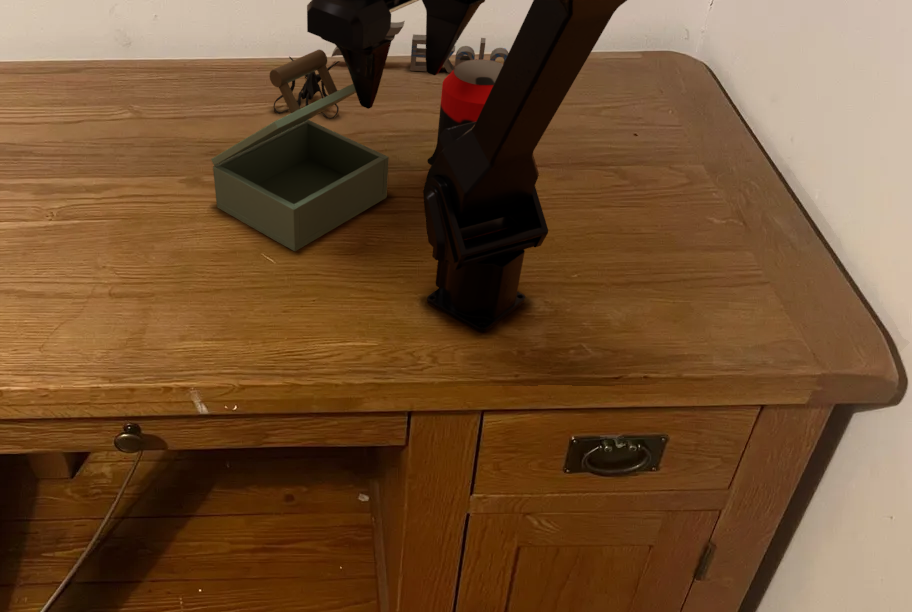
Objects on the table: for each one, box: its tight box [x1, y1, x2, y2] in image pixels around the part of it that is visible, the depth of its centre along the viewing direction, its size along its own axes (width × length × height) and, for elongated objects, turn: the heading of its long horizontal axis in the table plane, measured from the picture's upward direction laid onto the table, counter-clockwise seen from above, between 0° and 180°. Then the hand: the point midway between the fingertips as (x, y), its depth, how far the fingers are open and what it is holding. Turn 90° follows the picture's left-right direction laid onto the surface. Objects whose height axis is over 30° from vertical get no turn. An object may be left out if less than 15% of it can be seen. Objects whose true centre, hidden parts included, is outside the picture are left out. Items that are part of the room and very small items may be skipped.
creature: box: [273, 55, 340, 119], centre depth 107 cm, size 8×5×8 cm
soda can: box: [436, 59, 503, 143], centre depth 92 cm, size 8×8×12 cm
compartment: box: [212, 119, 390, 252], centre depth 92 cm, size 11×13×5 cm
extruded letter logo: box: [330, 20, 509, 74], centre depth 114 cm, size 25×2×6 cm, turn 81°
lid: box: [210, 49, 357, 166], centre depth 88 cm, size 12×13×5 cm
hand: (399, 89), depth 83 cm, fingers open, 9 cm apart
